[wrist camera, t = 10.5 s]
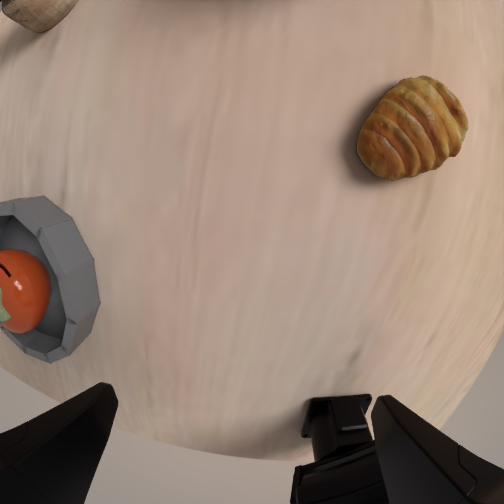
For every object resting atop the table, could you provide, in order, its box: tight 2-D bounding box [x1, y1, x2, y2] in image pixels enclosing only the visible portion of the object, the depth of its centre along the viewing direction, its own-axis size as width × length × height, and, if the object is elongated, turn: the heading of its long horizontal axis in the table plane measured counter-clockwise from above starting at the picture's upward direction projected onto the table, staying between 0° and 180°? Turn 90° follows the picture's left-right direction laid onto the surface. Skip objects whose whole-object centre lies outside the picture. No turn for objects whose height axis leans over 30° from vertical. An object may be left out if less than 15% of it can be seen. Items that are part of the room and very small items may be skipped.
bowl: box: [0, 196, 100, 363], centre depth 19 cm, size 15×15×4 cm
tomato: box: [0, 248, 51, 334], centre depth 16 cm, size 7×7×8 cm
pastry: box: [357, 76, 468, 181], centre depth 15 cm, size 9×7×4 cm
